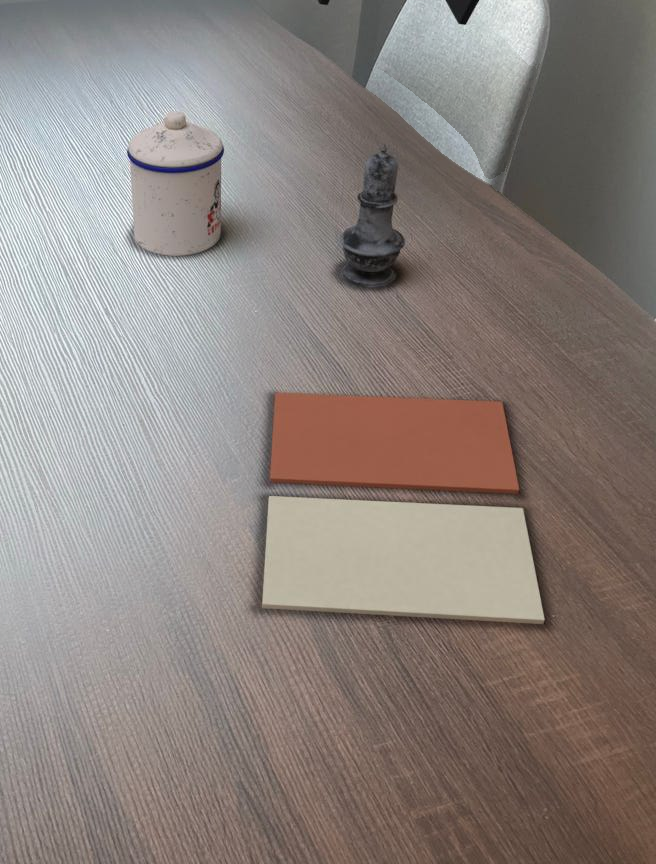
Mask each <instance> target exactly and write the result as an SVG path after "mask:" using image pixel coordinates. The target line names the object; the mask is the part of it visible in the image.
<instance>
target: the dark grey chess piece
mask: <svg viewBox="0 0 656 864" xmlns="http://www.w3.org/2000/svg"><path fill="white" fill-rule="evenodd" d="M379 150H380V152H378V153H375V154H373V155H371V156H370V157H369V158H368V159H367V160H366V161H365V162H366V163H365V167H364V175H363V184H362V191H360V192H359V193H358V194H357V198H356V199H357V201H358V203H359V211H358V218H357V222H356V224H355V225H353V226H350V227H349V228H347V229H345V230H344V231H342V233H341V234H340V238H339V242H340V244H341V246H342V252H343V256H344V258H345V260H346V262H347V264H346V265H344V266H343V267H342V268H341V270H340V276H341V278H342V279H343V280H344V281H345V282H347V283H349V284H350V285H352V286H356V287H359V288H367V289H368V288H370V289H373V288H381V287H385V286H388V285H390V284H391V283H393V282H394V281H395V279H396V277H397V273H396V271H395V269H394V268H392V265H393V264H395V262H396V260H397V259H398V257H399V255H400V253H401V250H402V249H403V248H404V246H405V244H406V239H405V237H404V235H403V234H402V232H400V231H399V230H397V229H395V228H394V227H393V221H392V219H393V213H394V206H395V205H396V204H397V203H398V201H399V196H398V195H397V194H396V192H395V191H396V185H397V178H398V177H397V176H398V171H399V170H398V169H399V163H398V161H397V159H396V157H394V156H393V155H392V154H389V153H388V152H387V151H388V150H389V148H388V147H387V145H386V143H383V144H382V145H381V147H379Z"/></svg>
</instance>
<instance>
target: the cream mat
mask: <svg viewBox="0 0 656 864" xmlns="http://www.w3.org/2000/svg"><path fill="white" fill-rule="evenodd" d="M267 503H268V504H267V520H266V536H265V553H264V567H263V568H264V570H263V587H262V601H261V608H262V609H271V610H287V611H302V612H303V611H304V612H305V611H307V612H324V613H342V614H357V615H358V614H359V615H375V616H376V615H377V616H391V617H392V616H394V617H411V618H427V619H429V618H430V619H445V620H446V619H447V620H461V621H479V622H481V621H483V622H498V623H517V624H532V625H533V624H534V625H544V623H545V621H546V619H545V614H544V609H543V604H542V599H541V593H540V589H539V583H538V579H537V572H536V567H535V562H534V557H533V553H532V548H531V542H530V536H529V532H528V531H529V530H528V525H527V522H526V517H525V511H524V508H523V507H512V506H511V507H508V506H488V505H470V504H469V505H468V504H465V505H464V504H448V503H447V504H444V503H424V502H407V501H405V502H403V501H385V500H384V501H382V500H361V499H340V498H322V497H303V496H301V497H300V496H299V497H297V496H276V495H269V496H268V501H267Z"/></svg>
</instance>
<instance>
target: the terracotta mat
mask: <svg viewBox="0 0 656 864" xmlns="http://www.w3.org/2000/svg"><path fill="white" fill-rule="evenodd" d="M273 406H274V407H273V423H272V439H271V454H270V455H271V456H270V469H269V470H270V471H269V472H270V473H269V483H272V484H273V483H275V484H294V485H295V484H299V485H316V486H317V485H319V486H321V485H322V486H337V487H338V486H339V487H361V488H382V489H384V488H385V489H402V490H403V489H405V490H424V491H443V492H444V491H447V492H469V493H487V494H488V493H489V494H510V495H518V494H519V493H520V485H519V481H518V480H519V479H518V475H517V469H516V465H515V460H514V454H513V450H512V445H511V439H510V434H509V429H508V422H507V418H506V413H505V408H504V403H503V401H496V400H472V399H446V398H445V399H443V398H421V397H395V396H393V397H392V396H369V395H345V394H343V395H342V394H319V393H293V392H290V393H289V392H275V393H274V405H273Z"/></svg>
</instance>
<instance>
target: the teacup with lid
mask: <svg viewBox="0 0 656 864" xmlns="http://www.w3.org/2000/svg"><path fill="white" fill-rule="evenodd" d="M126 155H127V159H128V160H129V165H130V166H129V167H130V184H131V185H130V186H131V201H132V221H133V223H132V224H133V236H134V237H133V238H134V240H135V242H136V243H137V244H138V245H139V246H140V247H141V248H142V249H144V250H145V251H148V252H150V253H153V254H157V255H161V256H170V257H175V256H176V257H180V256H181V257H182V256H183V257H184V256H191V255H195V254H199V253H202V252H204V251H207V250H209V249H211V248H212V247H213V246H215V245H216V244H217V242H219V239H220V238H221V234H222V228H221V227H222V226H221V225H222V215H221V214H222V159H223V156H224V155H225V147H224V144H223V141H222V139H221V137H220V136H219V135H218V134H217V133H215V131H213V130H211V129H210V128H207V127H204V126H201V125H196V124H194V123H192V122H190V121H187V118H186V114H184V112H182V111H177V110H171V111H168V112H166V113H165V115H164V117H163V122H160V123H158V124H155V125H154V126H151V127H148V128H145V129H143V130H141V131H139V132H138V133H136V134H135V135H133V136H132V138H131V139H130V140H129V143H128V146H127V149H126Z"/></svg>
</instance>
